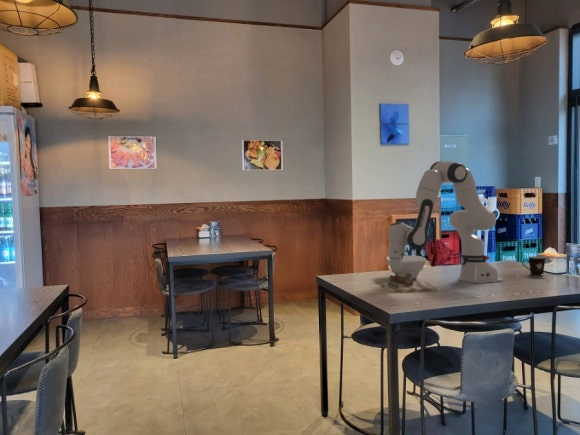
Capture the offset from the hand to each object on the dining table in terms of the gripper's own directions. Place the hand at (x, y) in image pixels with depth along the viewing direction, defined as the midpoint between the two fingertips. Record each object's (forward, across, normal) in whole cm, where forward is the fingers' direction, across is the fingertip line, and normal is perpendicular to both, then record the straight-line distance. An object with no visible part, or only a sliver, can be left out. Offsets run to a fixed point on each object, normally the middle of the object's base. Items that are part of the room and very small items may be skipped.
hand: (397, 278), depth 249 cm
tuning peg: (+2, +4, +3) cm, 5 cm away
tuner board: (+4, +5, +6) cm, 9 cm away
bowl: (+4, -25, +3) cm, 25 cm away
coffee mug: (+4, -50, +73) cm, 89 cm away
